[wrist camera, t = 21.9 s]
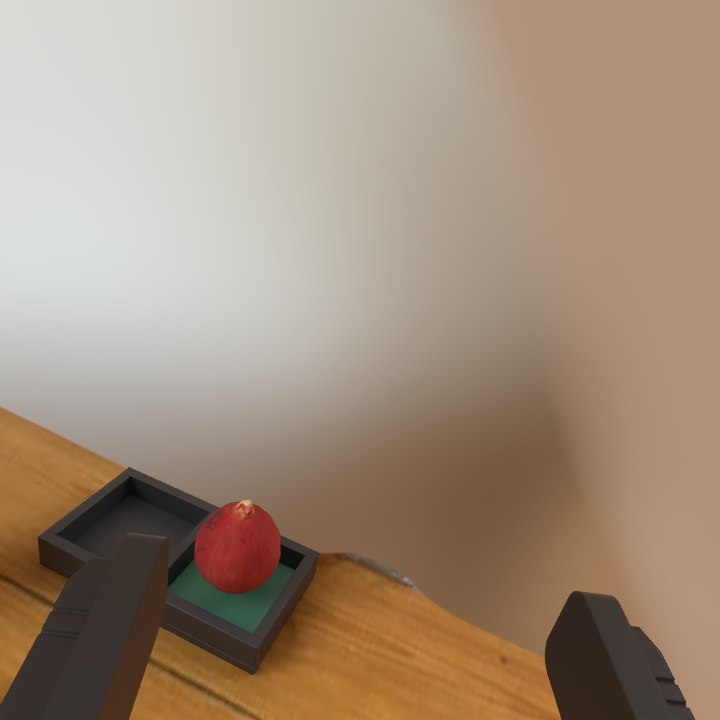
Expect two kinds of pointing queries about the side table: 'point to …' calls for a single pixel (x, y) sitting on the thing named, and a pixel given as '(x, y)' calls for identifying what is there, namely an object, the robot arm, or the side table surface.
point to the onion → (237, 548)
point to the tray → (182, 566)
